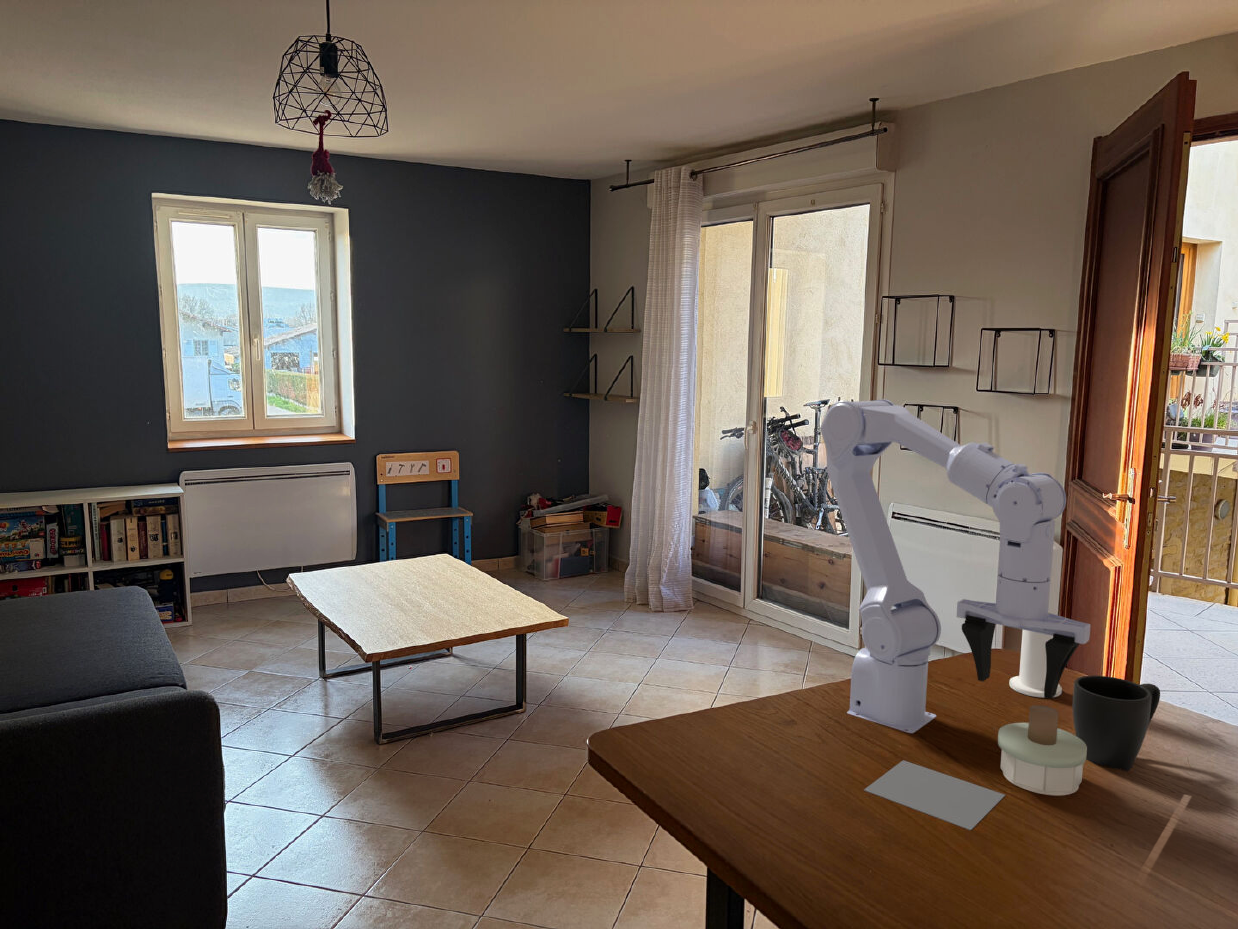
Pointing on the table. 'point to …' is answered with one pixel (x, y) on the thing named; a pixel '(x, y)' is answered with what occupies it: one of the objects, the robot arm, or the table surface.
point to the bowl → (1041, 776)
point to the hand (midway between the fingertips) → (1015, 687)
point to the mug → (1113, 718)
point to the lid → (1042, 741)
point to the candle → (1038, 642)
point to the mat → (936, 794)
